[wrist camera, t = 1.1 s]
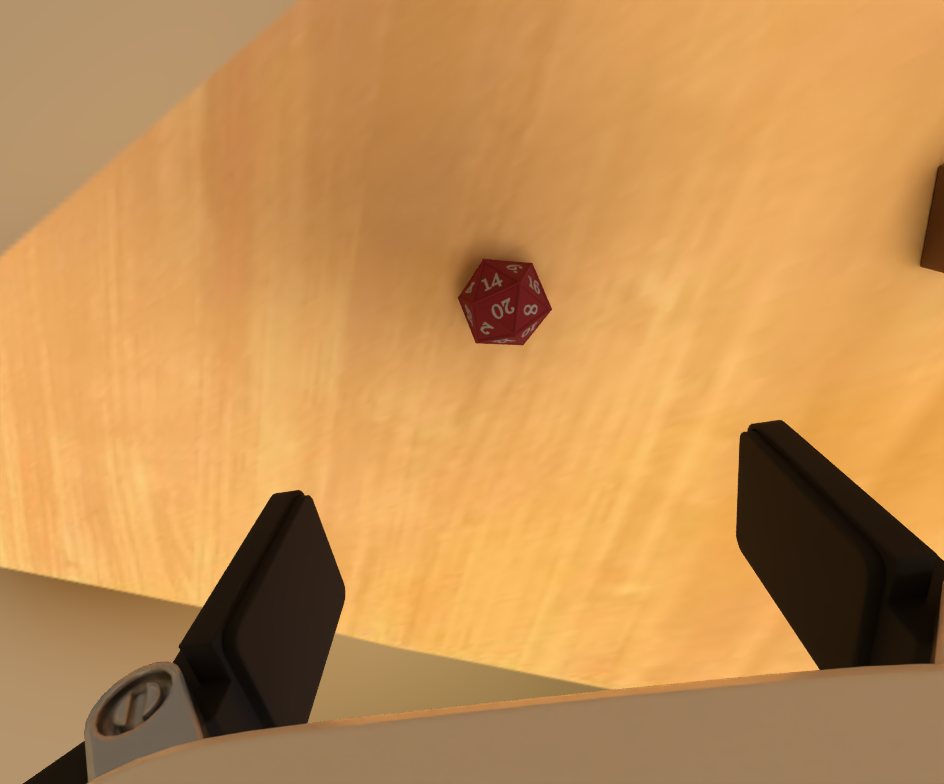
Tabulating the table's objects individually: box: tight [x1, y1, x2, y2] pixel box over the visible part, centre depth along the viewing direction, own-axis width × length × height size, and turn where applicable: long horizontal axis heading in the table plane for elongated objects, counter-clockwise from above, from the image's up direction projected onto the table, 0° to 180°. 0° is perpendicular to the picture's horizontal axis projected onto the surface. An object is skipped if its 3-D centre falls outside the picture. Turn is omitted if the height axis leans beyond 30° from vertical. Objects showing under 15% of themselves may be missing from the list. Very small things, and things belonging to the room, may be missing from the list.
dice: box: [458, 259, 552, 345], centre depth 24 cm, size 4×4×4 cm
